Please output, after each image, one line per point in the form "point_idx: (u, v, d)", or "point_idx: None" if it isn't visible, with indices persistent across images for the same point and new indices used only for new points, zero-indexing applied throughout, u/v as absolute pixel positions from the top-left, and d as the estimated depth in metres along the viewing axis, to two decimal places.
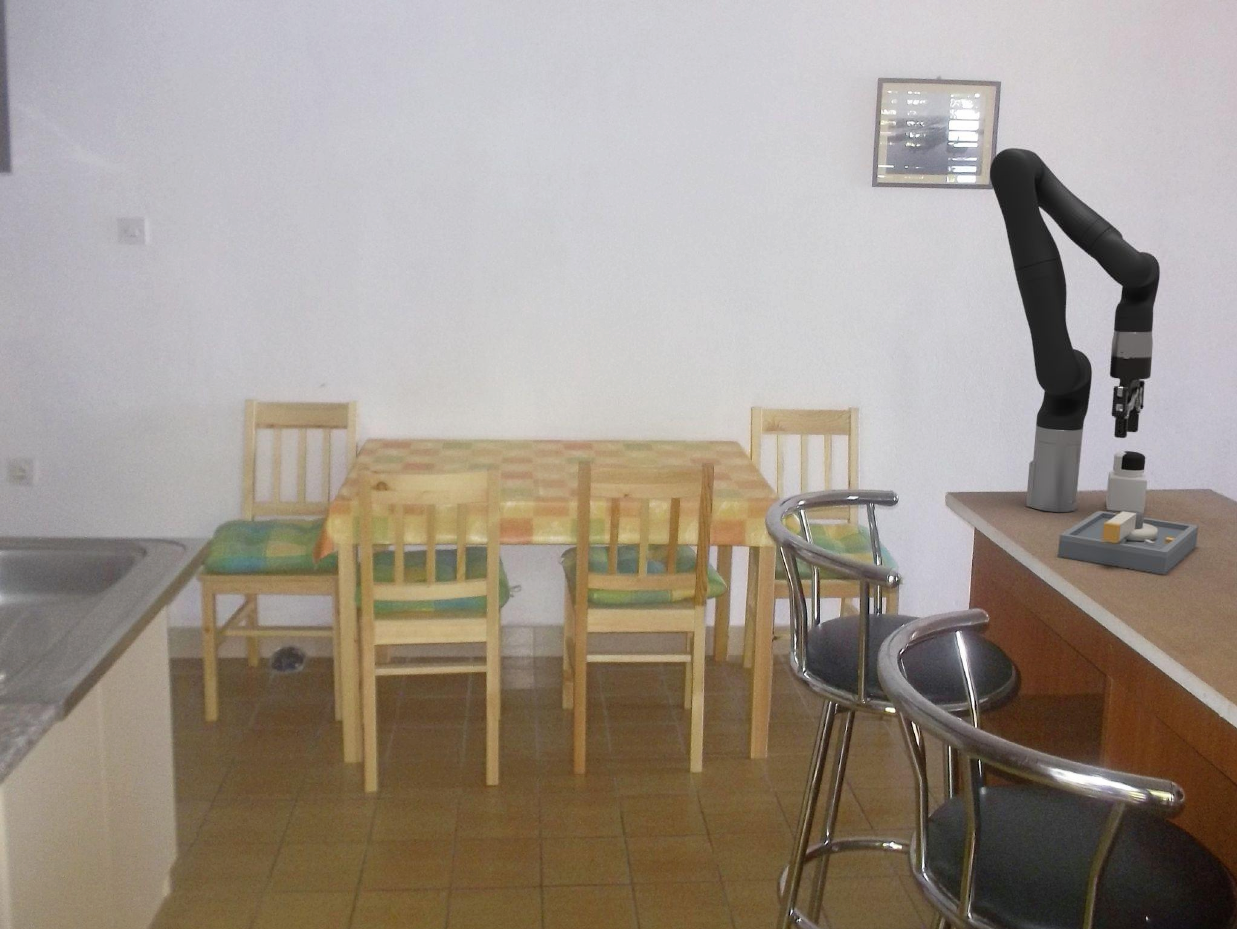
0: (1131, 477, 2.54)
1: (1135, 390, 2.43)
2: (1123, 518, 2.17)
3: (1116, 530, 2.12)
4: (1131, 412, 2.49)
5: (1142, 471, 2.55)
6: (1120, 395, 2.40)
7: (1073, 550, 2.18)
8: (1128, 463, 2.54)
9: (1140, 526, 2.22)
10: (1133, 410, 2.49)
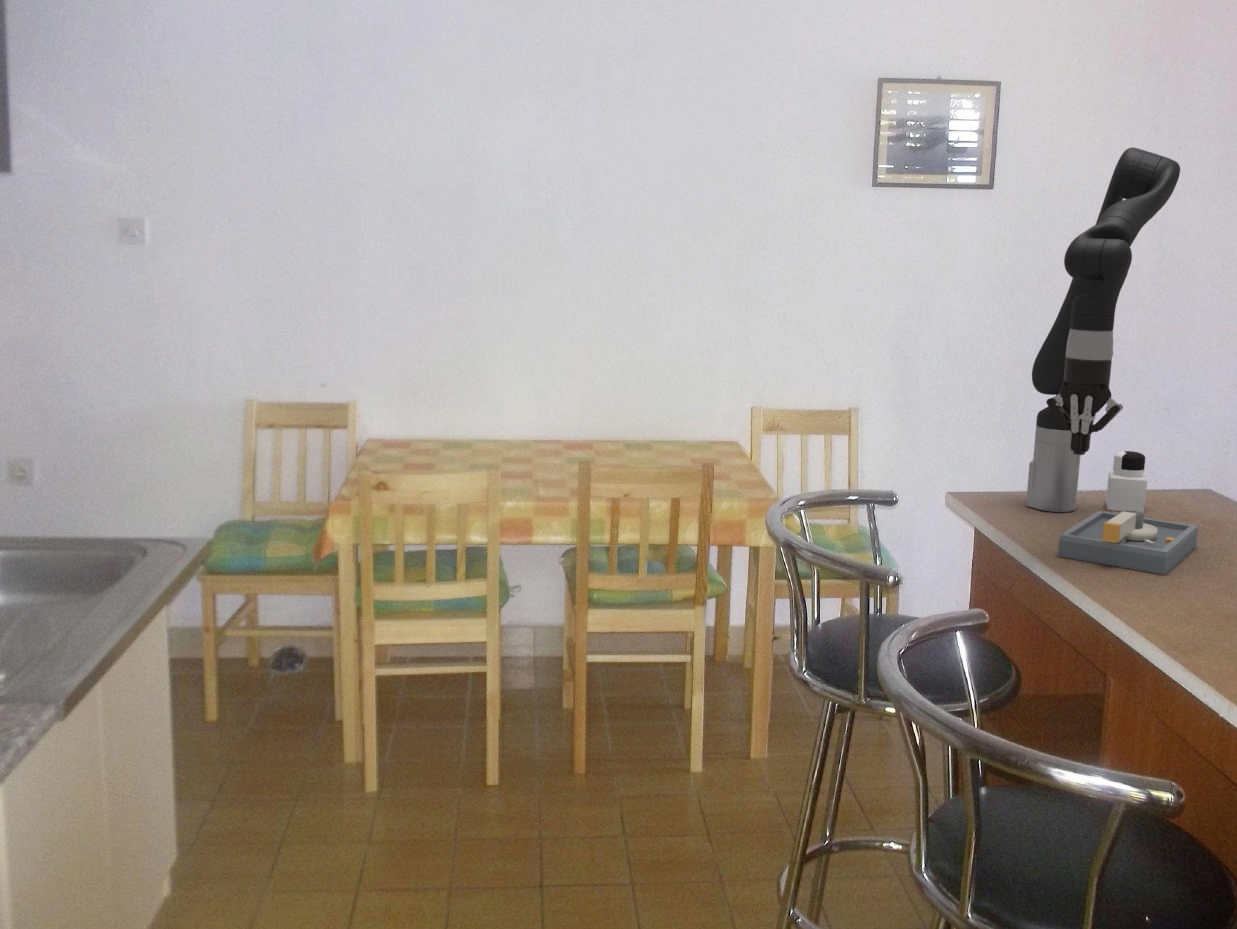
0: (1131, 477, 2.54)
1: None
2: (1123, 518, 2.17)
3: (1116, 530, 2.12)
4: (1079, 431, 2.15)
5: (1142, 471, 2.55)
6: (1115, 415, 2.11)
7: (1073, 550, 2.18)
8: (1128, 463, 2.54)
9: (1140, 526, 2.22)
10: (1080, 429, 2.15)
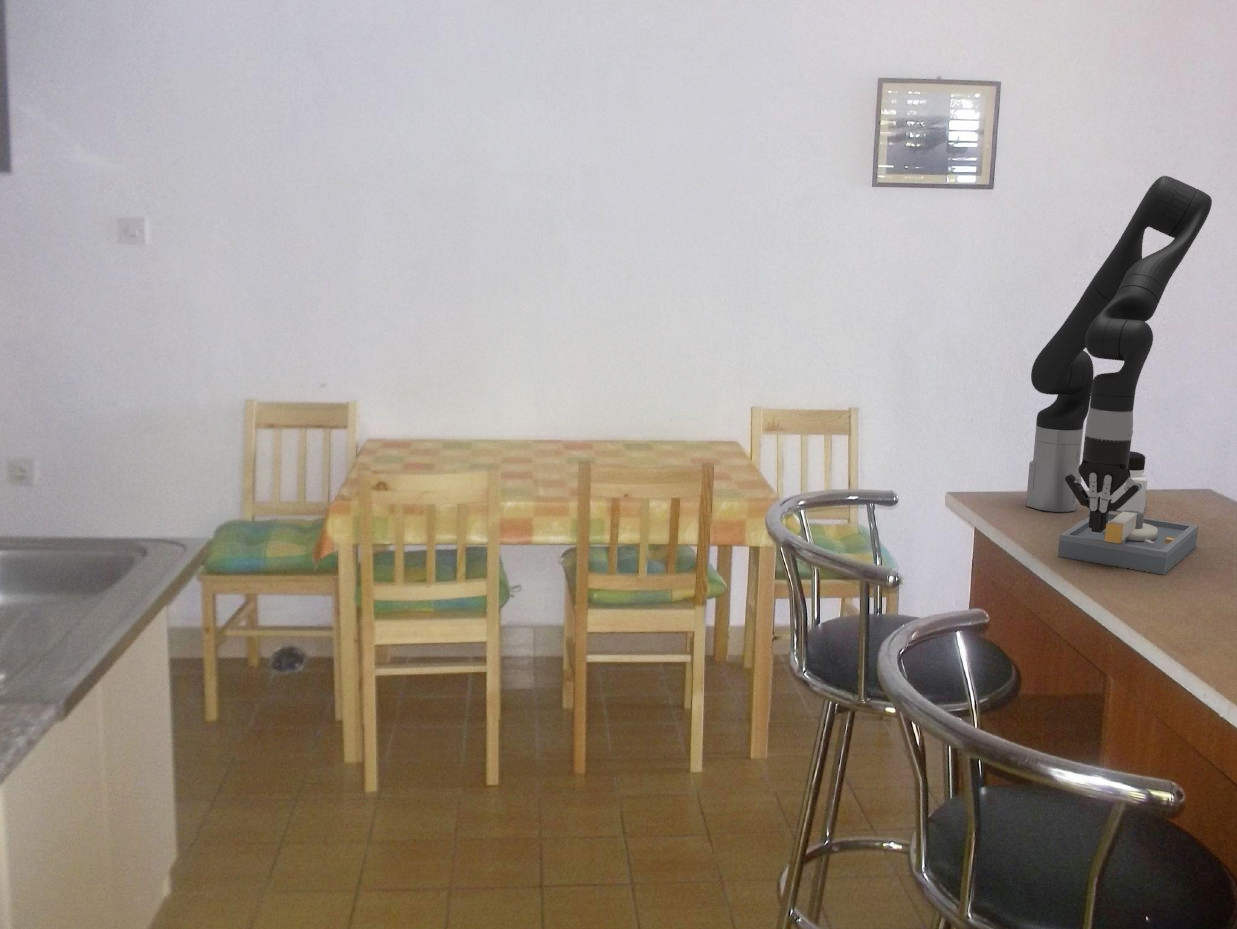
0: (1131, 477, 2.54)
1: None
2: (1124, 518, 2.17)
3: (1119, 530, 2.11)
4: (1098, 509, 2.15)
5: (1142, 471, 2.55)
6: (1133, 494, 2.11)
7: (1073, 550, 2.18)
8: None
9: (1140, 526, 2.22)
10: (1098, 506, 2.15)
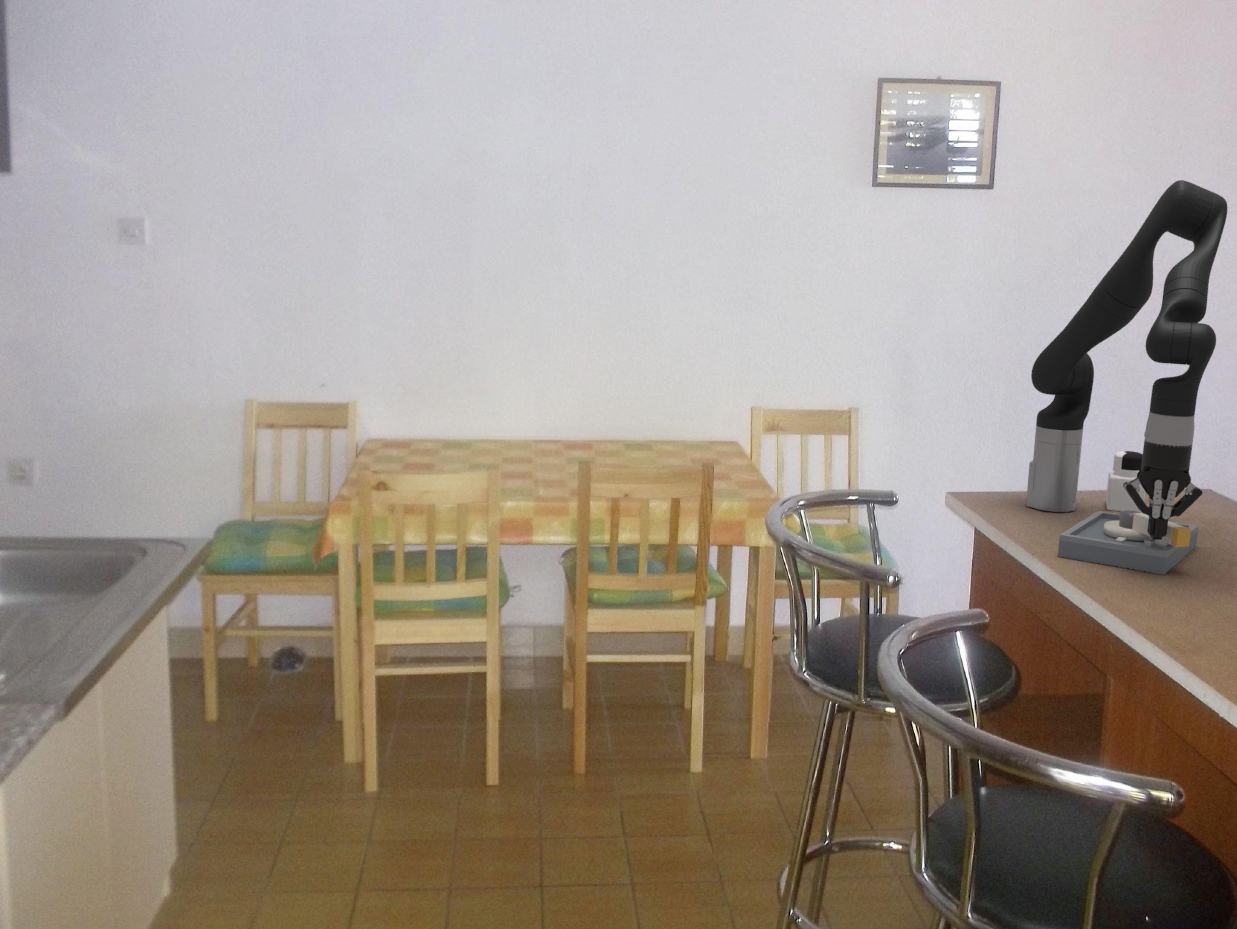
0: (1131, 477, 2.54)
1: None
2: None
3: (1189, 533, 2.10)
4: None
5: None
6: None
7: (1073, 550, 2.18)
8: (1128, 463, 2.54)
9: None
10: None
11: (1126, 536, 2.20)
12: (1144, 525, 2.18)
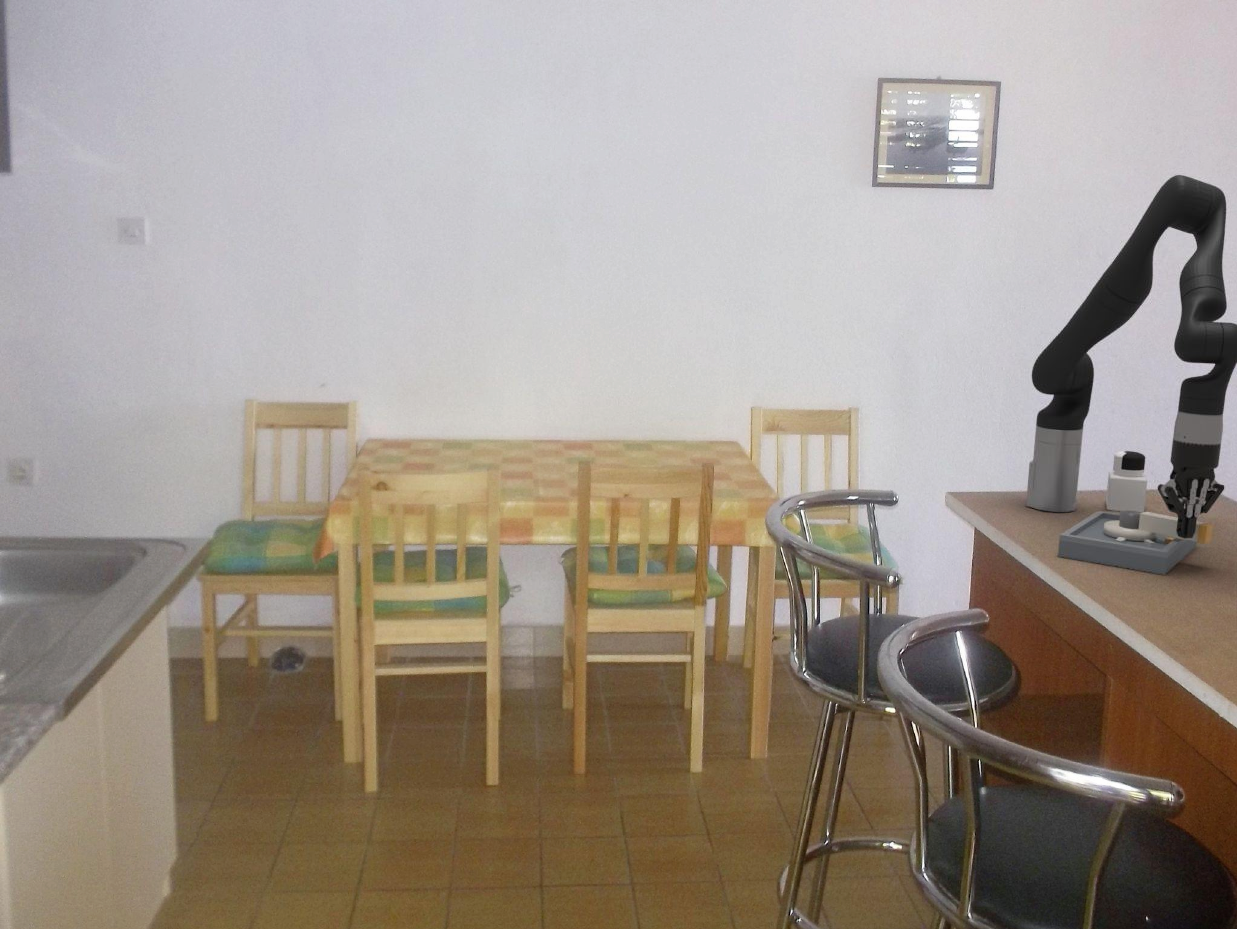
0: (1131, 477, 2.54)
1: None
2: (1174, 518, 2.18)
3: (1212, 529, 2.14)
4: None
5: (1142, 471, 2.55)
6: None
7: (1073, 550, 2.18)
8: (1128, 463, 2.54)
9: None
10: None
11: (1139, 537, 2.19)
12: (1156, 524, 2.19)
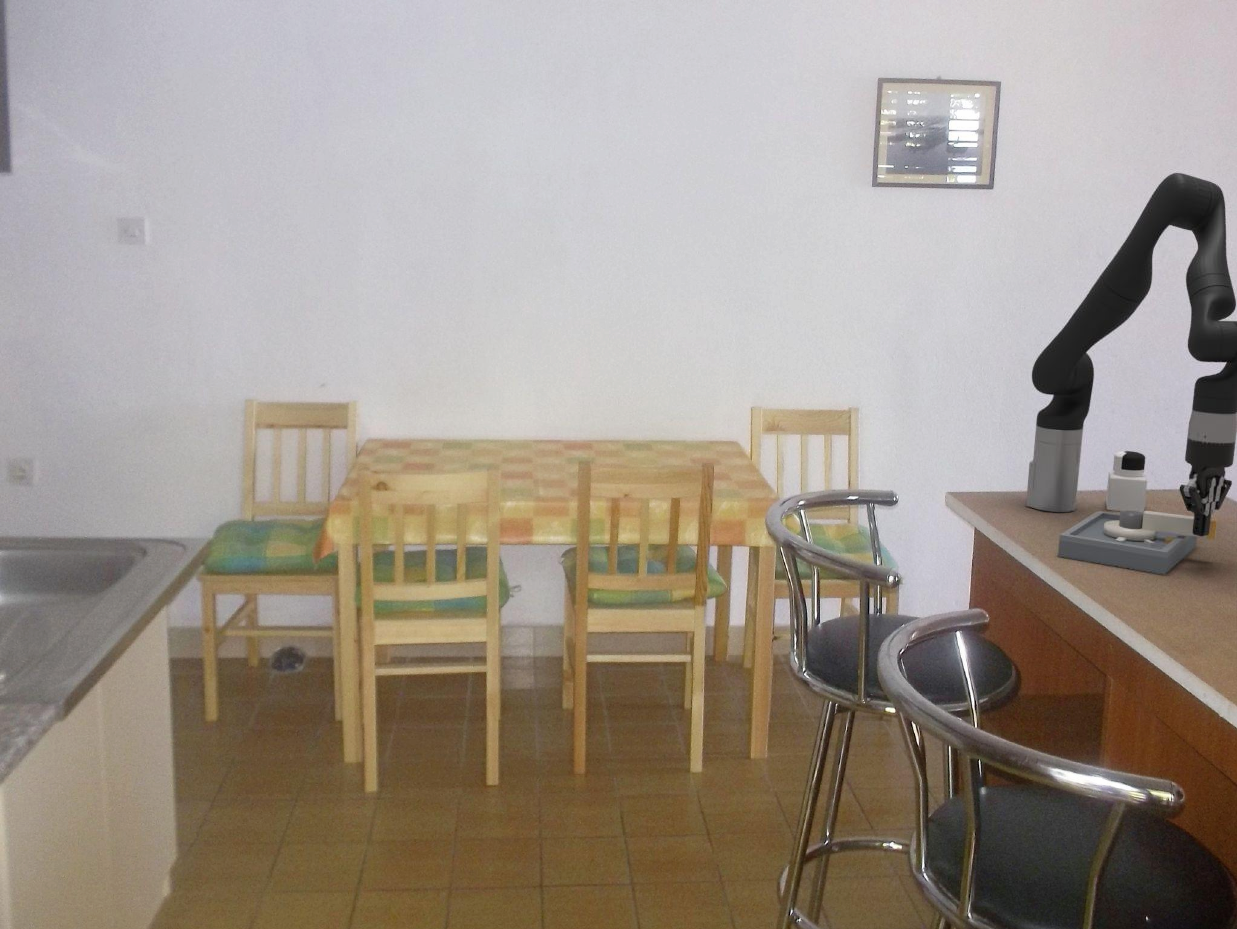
0: (1131, 477, 2.54)
1: None
2: (1177, 515, 2.20)
3: (1216, 524, 2.17)
4: None
5: (1142, 471, 2.55)
6: None
7: (1073, 550, 2.18)
8: (1128, 463, 2.54)
9: None
10: None
11: (1147, 537, 2.19)
12: (1161, 522, 2.20)
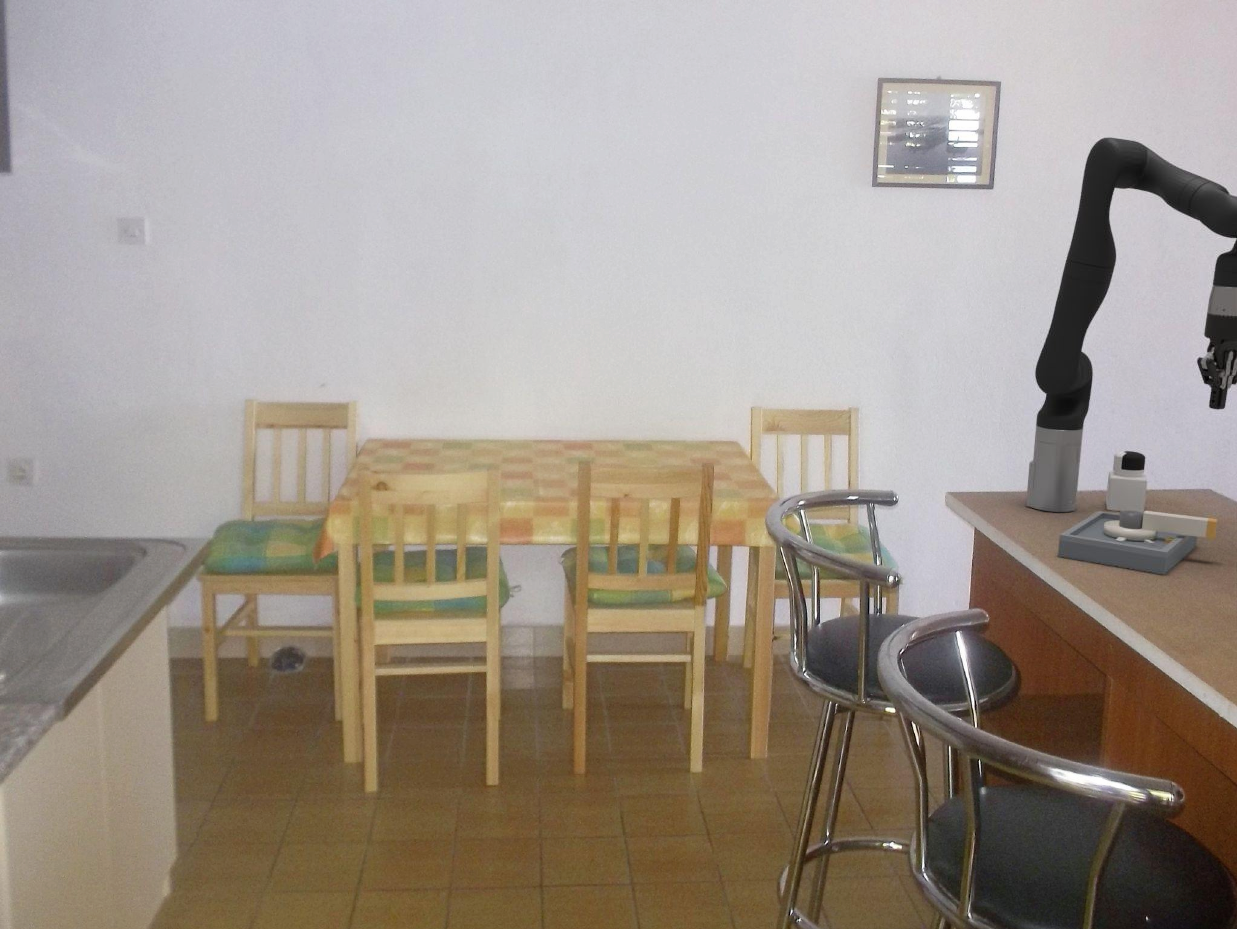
0: (1131, 477, 2.54)
1: None
2: (1177, 515, 2.20)
3: (1216, 524, 2.17)
4: None
5: (1142, 471, 2.55)
6: None
7: (1073, 550, 2.18)
8: (1128, 463, 2.54)
9: None
10: None
11: (1147, 537, 2.19)
12: (1161, 522, 2.20)
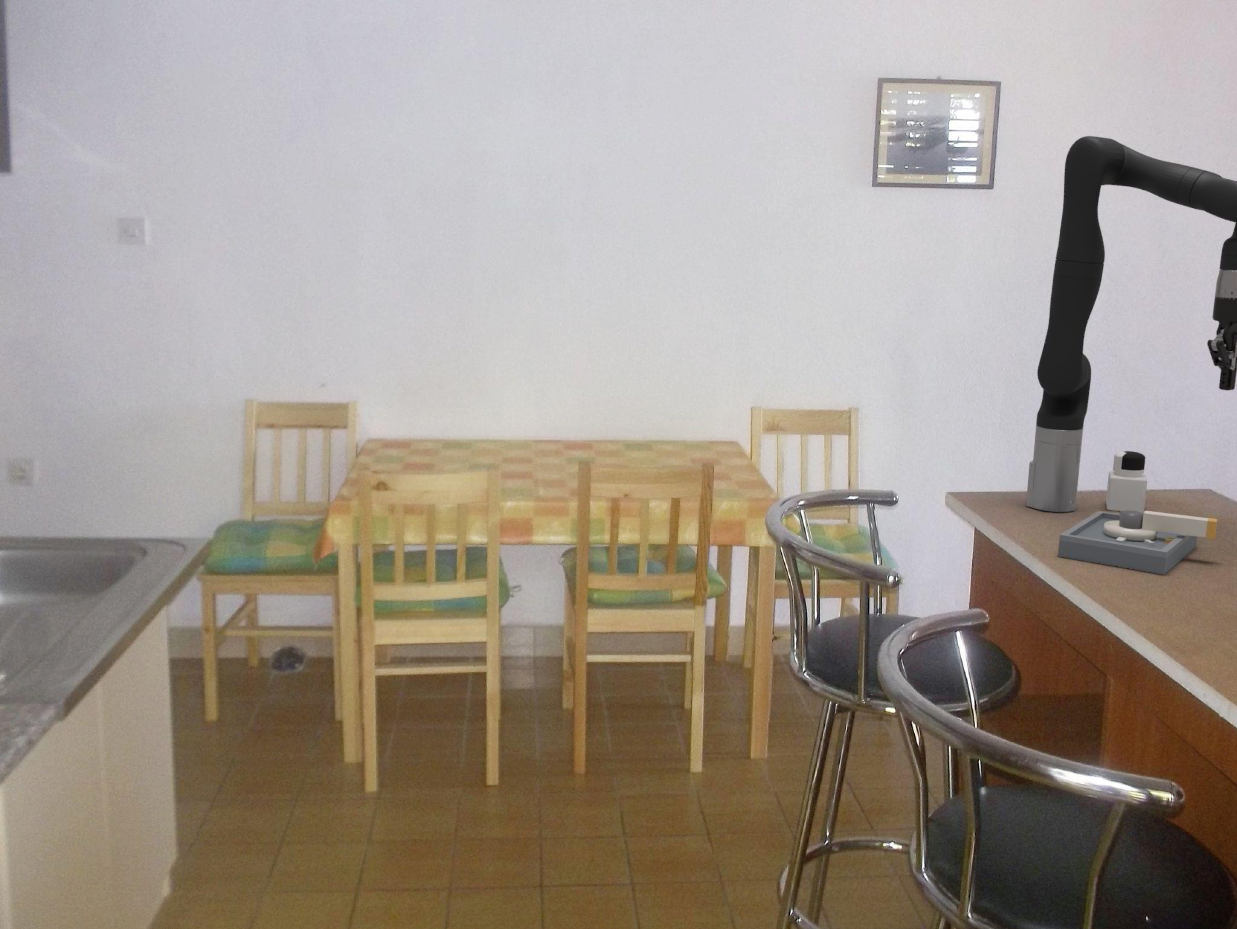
0: (1131, 477, 2.54)
1: None
2: (1177, 515, 2.20)
3: (1216, 524, 2.17)
4: None
5: (1142, 471, 2.55)
6: None
7: (1073, 550, 2.18)
8: (1128, 463, 2.54)
9: None
10: None
11: (1147, 537, 2.19)
12: (1161, 522, 2.20)
